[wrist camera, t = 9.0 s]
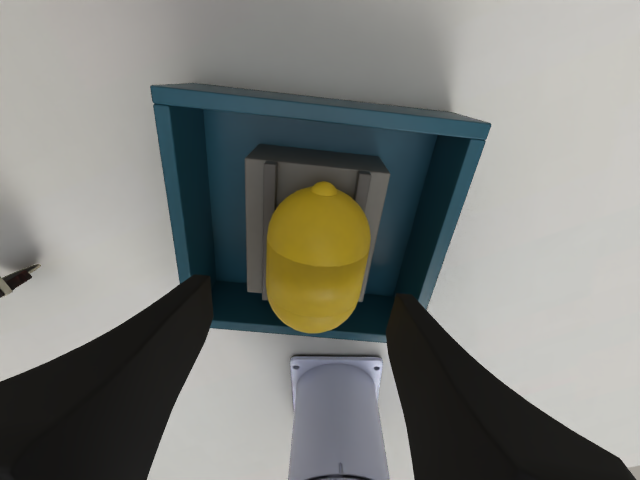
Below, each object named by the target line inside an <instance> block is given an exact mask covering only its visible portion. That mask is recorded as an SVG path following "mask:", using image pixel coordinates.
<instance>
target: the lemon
mask: <svg viewBox="0 0 640 480" xmlns="http://www.w3.org/2000/svg"><path fill="white" fill-rule="evenodd" d="M370 240H371V235H370V227H369V224H368V221H367V218H366V216H365V213H364V212H363V210H362V209H361V207H360V206H359V205H358V203H357V202H355V201H354V200H353V199H352V198H351V197H350V196H349V195H347V194H345V193H343V192H342V191H340V190H338V189H336V188H335V186H334V185H332V184H331V183H329V182H325V181H322V182H318V183H316V184H315V185H314V186H312V187H307V188H304V189H300V190H298V191H296V192H294V193H292V194H291V195H289V196H288V197H286V198H285V199H284V200H283V201H282V202H281V203H280V204H279V206H278V207H277V208H276V210H275V211H274V213H273V215H272V217H271V220H270V222H269V226H268V233H267V258H266V290H267V297H268V300H269V303H270V305H271V308H272V310H273V311H274V313H275V314H276V315H277V316H278V318H279V319H280V320H281V321H282V322H283V323H285V324H286V325H287V326H289V327H291V328H293V329H295V330H297V331H300V332H304V333H322V332H326V331H329V330H332V329H334V328H336V327H338V326H339V325H341V324H342V323H343V322H344V321H345V320H347V319H348V318H349V316H350V315H351V314H352V312H353V311H354V309H355V308H356V305H357V302H358V299H359V297H360V292H361V288H362V283H363V278H364V273H365V269H366V264H367V259H368V254H369V249H370Z"/></svg>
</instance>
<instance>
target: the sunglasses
mask: <svg viewBox="0 0 640 480" xmlns="http://www.w3.org/2000/svg"><path fill="white" fill-rule="evenodd" d="M40 266H41V265H40V264H36V265H33V266H30V267H27V268H24V269H21V270H19V271H16V272H14V273H12V274H9V275H7V276H5V277H3V278H1V277H0V298H1V297H2V296H7V295H8V294H10V293H11V292H13V291H12V290H14V289H15V288H16V287H18V286H19V285H21V284H23V283H24V282H26V281H27V280H29V279H31V278H32V276H31V275H30V273H32V272H33V271H35V270H36V269H38V268H39V267H40Z"/></svg>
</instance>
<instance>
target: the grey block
mask: <svg viewBox="0 0 640 480" xmlns="http://www.w3.org/2000/svg"><path fill="white" fill-rule="evenodd" d="M389 178H390V172H389V171H388V169H387V168H386V166H385V165H384V163H383V162H382V160H381V159H380V157H378V156H369V155H360V154H351V153H341V152H332V151H323V150H313V149H304V148H294V147H285V146H276V145H266V144H258V145H257V146H256V148H255V149H254V150H253V151H252V152H251V153H250V154H249V155H248V156H247V157H246V158H245V205H246V260H247V292H254V293H262V300H268V297H267V290H266V258H267V233H268V226H269V222H270V220H271V217H272V215H273V213H274V211H275V210H276V208H277V207H278V206H279V204H280V203H281V202H282V201H283V200H284V199H285V198H286V197H288V196H289V195H291V194H292V193H294V192H296V191H298V190H300V189H304V188H307V187H312V186H314V185H315V184H316V183H318V182H322V181H325V182H329V183H331V184H332V185H334V186H335V188H336V189H338V190H340V191H342V192H343V193H345V194H347V195H349V196H350V197H351V198H352V199H353V200H354V201H355V202H357V203H358V205H359V206H360V207H361V209H362V210H363V212H364V213H365V216H366V218H367V221H368V224H369V227H370V235H371V240H370V249H369V254H368V259H367V264H366V269H365V273H364V278H363V283H362V288H361V292H360V297H359V299H358V302H363V298H364V294H365V289H366V284H367V280H368V275H369V271H370V266H371V261H372V257H373V252H374V248H375V243H376V238H377V234H378V229H379V225H380V220H381V215H382V211H383V206H384V202H385V197H386V192H387V188H388V183H389ZM268 301H269V300H268Z"/></svg>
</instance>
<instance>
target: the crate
mask: <svg viewBox="0 0 640 480" xmlns="http://www.w3.org/2000/svg"><path fill="white" fill-rule="evenodd" d="M150 88H151V95H152V101H153V103H154V105H153V107H154V114H155V121H156V127H157V134H158V141H159V147H160V154H161V161H162V167H163V174H164V181H165V187H166V194H167V201H168V207H169V214H170V221H171V227H172V234H173V241H174V247H175V254H176V261H177V267H178V274H179V281H180V284H181V283H182V282H184V281H185V280H187V279H188V278H189V277H191V276H192V275H194V274H197V275H207V276H210V280H211V292H212V304H213V315H214V317H213V320H212V323H211V326H210V328H216V329H228V330H239V331H251V332H263V333H275V334H287V335H298V336H310V337H322V338H334V339H346V340H357V341H369V342H381V343H387V340H386V328H387V325H388V321H389V318H390V314H391V311H392V307H393V304H394V300H395V296H396V293H401V294H412V295H413V296H414V297H415V298H416V299H417V300H418V302H419V303H420V304H421V305H422V306H423V307H424V308H425V309H427V306H428V304H429V301H430V298H431V295H432V292H433V289H434V287H435V284H436V281H437V278H438V275H439V272H440V269H441V267H442V264H443V261H444V258H445V255H446V252H447V250H448V247H449V244H450V241H451V238H452V235H453V233H454V230H455V227H456V224H457V221H458V218H459V216H460V213H461V210H462V207H463V204H464V201H465V199H466V196H467V193H468V190H469V187H470V184H471V182H472V179H473V176H474V173H475V170H476V167H477V165H478V162H479V159H480V156H481V153H482V150H483V148H484V145H485V140H486V138H487V136H488V133H489V130H490V127H491V124H490V123H488V122H484V121H481V120H477V119H474V118H470V117H467V116H463V115H460V114H456V113H453V112H446V111H437V110H428V109H419V108H410V107H401V106H392V105H384V104H375V103H366V102H357V101H348V100H339V99H330V98H322V97H313V96H304V95H295V94H286V93H277V92H268V91H260V90H251V89H242V88H233V87H224V86H215V85H206V84H198V83H185V84H167V85H152V86H151V87H150ZM258 144H266V145H276V146H285V147H294V148H304V149H313V150H323V151H332V152H341V153H351V154H360V155H369V156H378V157H380V159H381V160H382V162H383V163H384V165H385V166H386V168H387V169H388V171H389V172H390V178H389V183H388V188H387V192H386V197H385V202H384V206H383V211H382V215H381V220H380V225H379V229H378V234H377V238H376V243H375V248H374V252H373V257H372V261H371V266H370V271H369V275H368V280H367V284H366V289H365V294H364V298H363V302H357V305H356V308H355V309H354V311H353V312H352V314H351V315H350V316H349V318H348V319H347V320H345V321H344V322H343V323H342V324H341V325H339V326H338V327H336V328H334V329H332V330H329V331H326V332H322V333H304V332H300V331H297V330H295V329H293V328H291V327H289V326H287V325H286V324H285V323H283V322H282V321H281V320H280V319H279V318H278V316H277V315H276V314H275V313H274V311H273V310H272V308H271V305H270V303H269V301H268V300H262V293H254V292H247V260H246V205H245V158H246V157H247V156H248V155H249V154H250V153H251V152H252V151H253V150H254V149H255V148H256V146H257V145H258Z"/></svg>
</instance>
